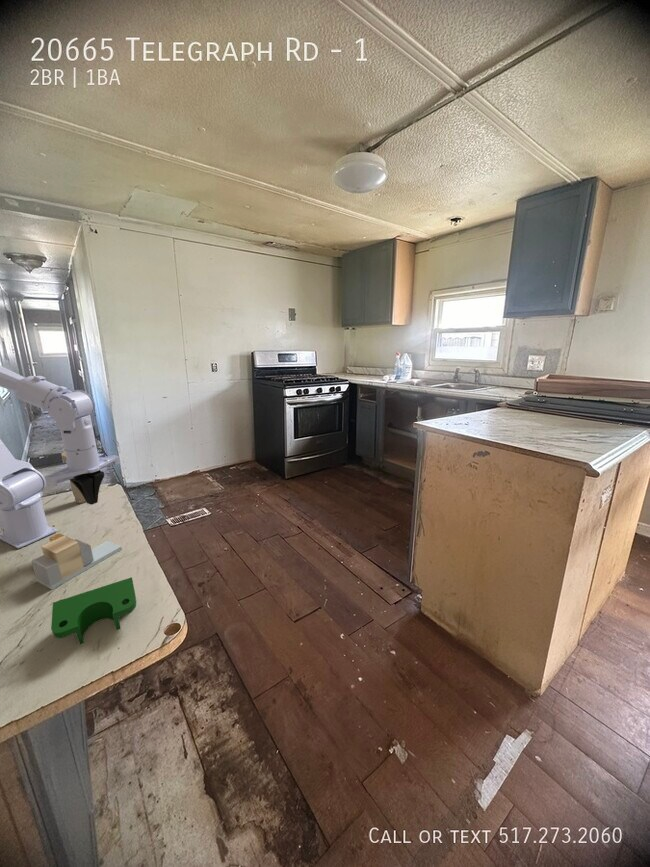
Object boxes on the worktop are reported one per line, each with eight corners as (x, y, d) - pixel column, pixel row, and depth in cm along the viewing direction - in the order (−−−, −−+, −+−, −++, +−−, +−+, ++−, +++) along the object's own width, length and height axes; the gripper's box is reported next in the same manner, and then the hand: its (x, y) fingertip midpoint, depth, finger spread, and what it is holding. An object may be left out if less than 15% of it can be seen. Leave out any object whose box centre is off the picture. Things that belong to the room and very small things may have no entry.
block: (48, 571, 68) (41, 546, 66) (69, 560, 71) (63, 535, 70) (62, 579, 66) (55, 553, 64) (83, 567, 69) (78, 542, 68)
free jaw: (53, 553, 74) (48, 535, 73) (63, 548, 76) (58, 531, 75) (84, 569, 69) (80, 550, 68) (94, 563, 71) (90, 545, 70)
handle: (73, 508, 94) (61, 457, 90) (72, 499, 99) (61, 451, 94) (93, 503, 97) (83, 454, 92) (92, 494, 102) (82, 447, 97)
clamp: (79, 663, 55) (37, 644, 49) (79, 630, 59) (41, 609, 53) (151, 616, 59) (120, 593, 53) (146, 588, 63) (117, 564, 57)
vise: (37, 581, 66) (31, 560, 65) (107, 543, 79) (104, 525, 77) (51, 589, 64) (46, 568, 63) (121, 549, 76) (118, 531, 75)
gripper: (53, 460, 66) (67, 521, 70) (123, 440, 79) (132, 493, 83) (34, 454, 69) (48, 513, 73) (104, 436, 82) (114, 487, 85)
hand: (92, 502), depth 78 cm, fingers closed
